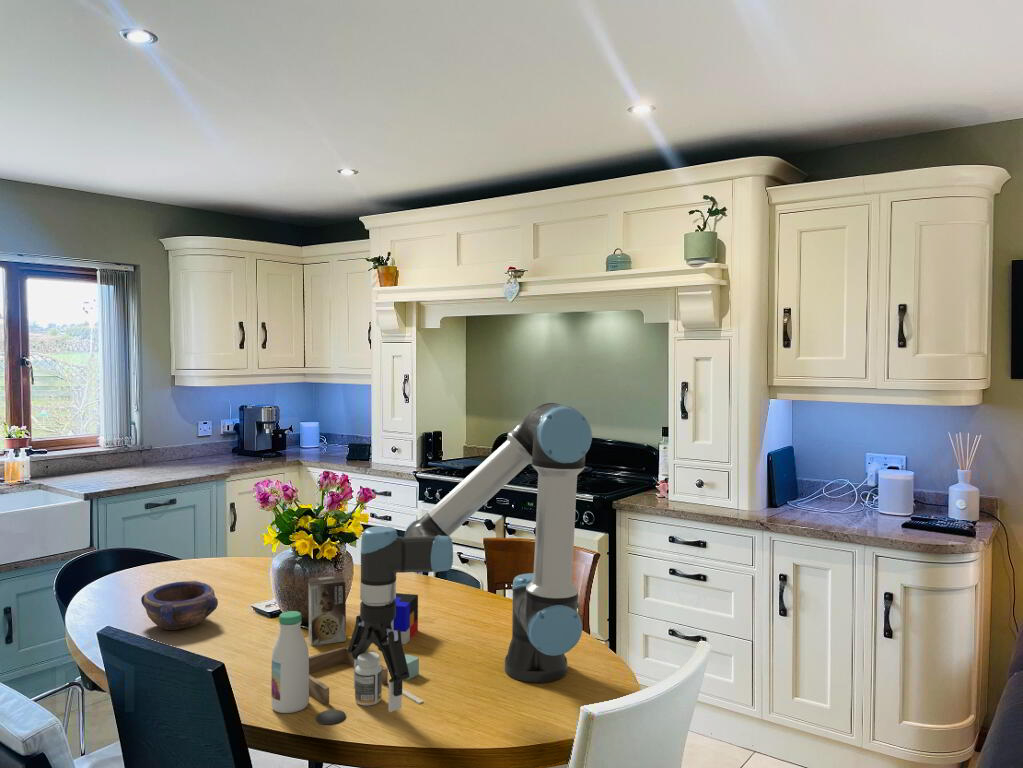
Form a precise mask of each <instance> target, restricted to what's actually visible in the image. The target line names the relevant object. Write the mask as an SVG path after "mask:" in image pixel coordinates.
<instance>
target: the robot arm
mask: <svg viewBox="0 0 1023 768" xmlns="http://www.w3.org/2000/svg"><path fill="white" fill-rule="evenodd" d="M592 441H593V431H592V427H591V425H590V423H589V421H588V419H587V418H586V416H585V415H584V414H582V412H580V411H579V410H577V409H576V408H574V407H571V406H569V405H563V404H559V403H555V402H547V403H543V404H541V405H538V406H536V407H535V408H534V409H532V410H531V411H530V412H529V413H528V414H527V415H526V416H525V417H523V418H522V420H520V421H519V422H518V424H516V425H515V426H514V427H513V428H512V429H511V430H510V431H509V432H508V433H507V439H506V440H505V441H504V442H503V443H502V444H501V445H500V446H499V447H498V448H497V449H495V450H494V451H493V452H492V453H491V454H490V455H489V456H488V457H487V458H486V459H484V461H482V463H480V464H479V465H478V466H477V467H476V468H474V470H472V471H471V472H470V473H469V474H468V475H467V476H466V477H464V479H462V480H461V481H460V482H459V483H458V484H457V485H456V486H455V487H454V488H452V490H450V492H449V493H447V494H446V495H445V496H444V497H443V498H442V499H441V500H439V501H438V502H437V503H436V504H435V505H434V506H433V507H432V508H431V509H430V510H428V512H426V513H425V514H424V515H423V516H422V517H420V519H415V520H414V521H412V522H410V523H409V525H407V527H406V529H405V532H404V536H399V535H398V531H397V530H396V528H395V527H392V526H385V525H378V526H377V525H376V526H371V527H367V528H366V529H364V530H363V531H362V534H361V541H360V583H359V584H360V586H359V587H360V591H359V598H360V604H359V606H360V607H359V610H360V611H359V612H360V614H359V615H356V616H355V625H354V629H353V632H352V635H351V638H350V640H349V644H348V652H349V653H352V657H353V658H354V667H353V689H354V690H355V669H356V667H357V666H358V665H359V664H358V656H359V655H360V654H362V653H366V652H368V650H369V648H370V647H371V645H372V644H373V645H374V646H377V649H378V651H379V652H381V654H382V657H383V659H384V662H385V665H386V668H388V674H389V676H390V679H388V684H389V686H388V712H390V713H392V712H394V711H397V710H400V709H402V699H403V698H402V695H403V694H402V689H403V681H405V679H407V678H409V677H410V675H409V671H408V667H407V662H406V658H405V651H404V646H403V644H402V642H401V631H400V630H399V629H398V630H392V627H391V622H392V621H393V619H394V618H395V617H396V601H395V600H394V599H395V598H396V593H397V592H396V591H397V574H398V573H401V574H402V573H438V572H447V571H450V570H451V569H452V567H453V565H454V564H453V563H454V547H453V546H454V545H453V540H452V538H451V535H452V534H453V533H455V531H457V530H458V529H459V528H460V527H461V526H463V524H464V523H465V522H467V521H468V520H469V518H471V517H472V516H473V515H474V514H475V513H477V512H478V511H479V510H480V509H481V508H482V507H483V506H484V505H485V504H486V503H488V502H489V500H491V499H492V498H493V497H494V496H495V495H496V494H497V493H498V492H499V491H500V490H501V489H503V488H504V487H505V486H506V485H507V484H509V482H510V481H512V479H514V477H516V476H517V475H518V474H520V472H521V471H522V470H524V468H526V467H527V466H528V465H531V467H532V468H533V469H534V470H535V471H536V472H537V474H538V476H537V494H536V495H537V496H536V516H535V536H534V539H535V540H534V561H533V572H532V573H531V572H530V573H522V574H518V575H517V576H515V577H514V578H513V581H512V588H511V591H512V617H511V618H512V623H511V624H512V625H511V626H512V627H511V628H512V629H511V633H512V634H511V640H510V644H509V647H508V650H507V654H506V656H505V658H504V672H505V673H506V674H507V676H509V677H510V678H512V679H515V680H518V681H520V682H521V681H522V682H525V683H549V682H555V681H556V680H559V679H562V678H563V677H565V676H566V675H567V673H568V660H567V656H566V653H568V652H570V651H571V650H572V649H573V648H574V647H576V646H577V644H578V643H579V641H580V639H581V637H582V634H583V623H582V619H581V616H580V614H579V613H578V606H579V605H578V602H579V589H578V587H577V586H576V585H575V584H574V583H573V567H574V565H573V564H574V563H573V562H574V550H575V549H574V547H575V525H576V507H577V506H576V503H577V484H578V475H580V473H582V471H584V469H585V465H586V464H585V463H586V455H587V453H588V451H589V450H590V448H591V444H592ZM387 642H388V643H387ZM395 674H396V675H395Z"/></svg>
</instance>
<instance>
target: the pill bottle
mask: <svg viewBox="0 0 1023 768" xmlns="http://www.w3.org/2000/svg"><path fill="white" fill-rule="evenodd" d="M358 664H359V665H358V666H357V667H356V669H355V689H354V696H355V697H354V700H355V702H356V704H357V705H360V706H364V707H365V706H369V707H370V706H374V705H376V704H378V703H380V702H381V700H382V694H383V693H382V692H383V691H382V690H383V689H382V687H383V686H382V685H383V684H382V668H381V664H380V654H379V653H377V652H374V651H369V652H368V651H366V653H362V654H360V655H359V656H358Z"/></svg>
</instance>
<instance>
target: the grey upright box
mask: <svg viewBox="0 0 1023 768" xmlns="http://www.w3.org/2000/svg"><path fill="white" fill-rule="evenodd" d="M307 583H308V584H307V585H308V589H307V590H308V594H307V595H308V640H309V642H310V646H311V647H314V646H321V645H322V646H323V645H329V644H336V643H344V642H347V612H346V610H347V609H346V608H347V607H346V606H347V605H346V602H347V601H346V600H347V599H346V595H347V594H346V580H345V578H344V577H343V575H342V574H339V575H329V576H320V577H312V578H308V581H307Z"/></svg>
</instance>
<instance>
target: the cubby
mask: <svg viewBox="0 0 1023 768" xmlns="http://www.w3.org/2000/svg"><path fill="white" fill-rule="evenodd" d="M348 647H349V645H346V646H341V647H338V648H335V649H331V650H327V651H325V652H321V653H317V654H314V655H310V656H309V696H311V697H313V698H314V699H316V700H317V701H318V702H320V703H322V704H323V705H324V706H325V705H328V704H330V687H329V686H328V685H326V684H324V683H323V682H322V681H320V680H318V679H317V678H316V677H314V676H312V675H311V673H314V672H319V671H321V670H324V669H327V668H332V667H334V666H335V667H336V666H338V665H341V664H345V663H346V664H348V665H349V666H351V667H353V668H354V658H353V657H352V653H349V652H348ZM380 665H381V664H380ZM381 668H382V685H383V686H385V685H388V684H389V679H388V677H389V671H388V668H387V666H383V665H381Z"/></svg>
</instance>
